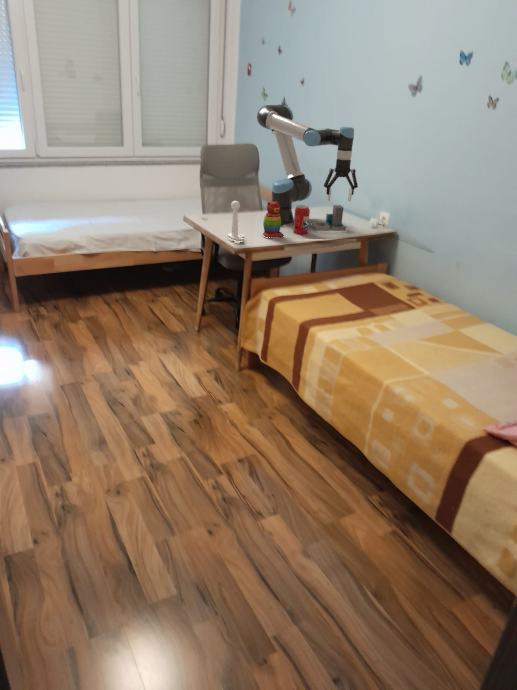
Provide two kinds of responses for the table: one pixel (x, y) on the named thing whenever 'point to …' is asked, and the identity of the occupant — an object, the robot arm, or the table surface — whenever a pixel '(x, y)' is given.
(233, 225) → the joystick
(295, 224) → the soda can
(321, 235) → the table surface
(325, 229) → the gray square tray
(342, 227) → the port
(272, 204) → the stacking bear
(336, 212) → the grey upright block
